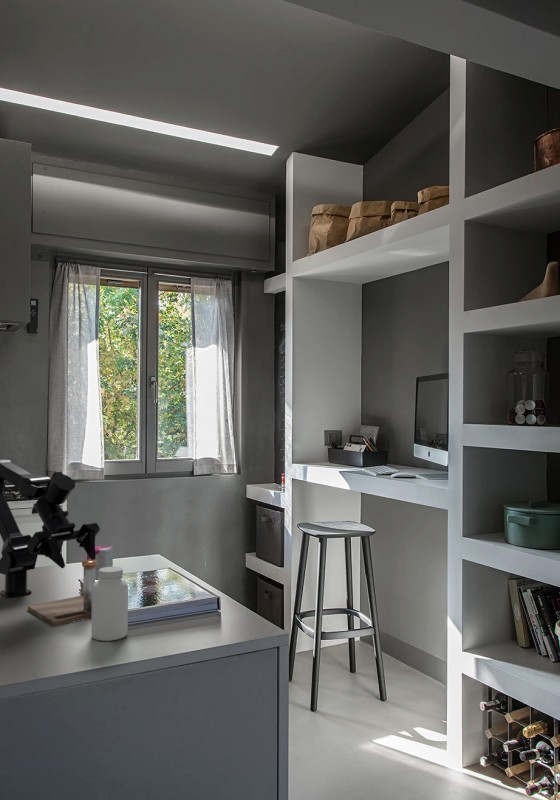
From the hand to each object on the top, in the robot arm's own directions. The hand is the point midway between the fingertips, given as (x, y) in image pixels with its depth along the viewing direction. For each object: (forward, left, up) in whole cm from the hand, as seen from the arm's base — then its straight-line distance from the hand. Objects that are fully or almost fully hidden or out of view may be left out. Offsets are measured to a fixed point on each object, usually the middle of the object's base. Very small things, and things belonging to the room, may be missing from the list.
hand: (79, 563), depth 166 cm
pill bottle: (+21, -2, -12) cm, 24 cm away
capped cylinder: (+4, +1, -12) cm, 13 cm away
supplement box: (-17, +14, -12) cm, 25 cm away
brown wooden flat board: (-2, -1, -12) cm, 12 cm away
